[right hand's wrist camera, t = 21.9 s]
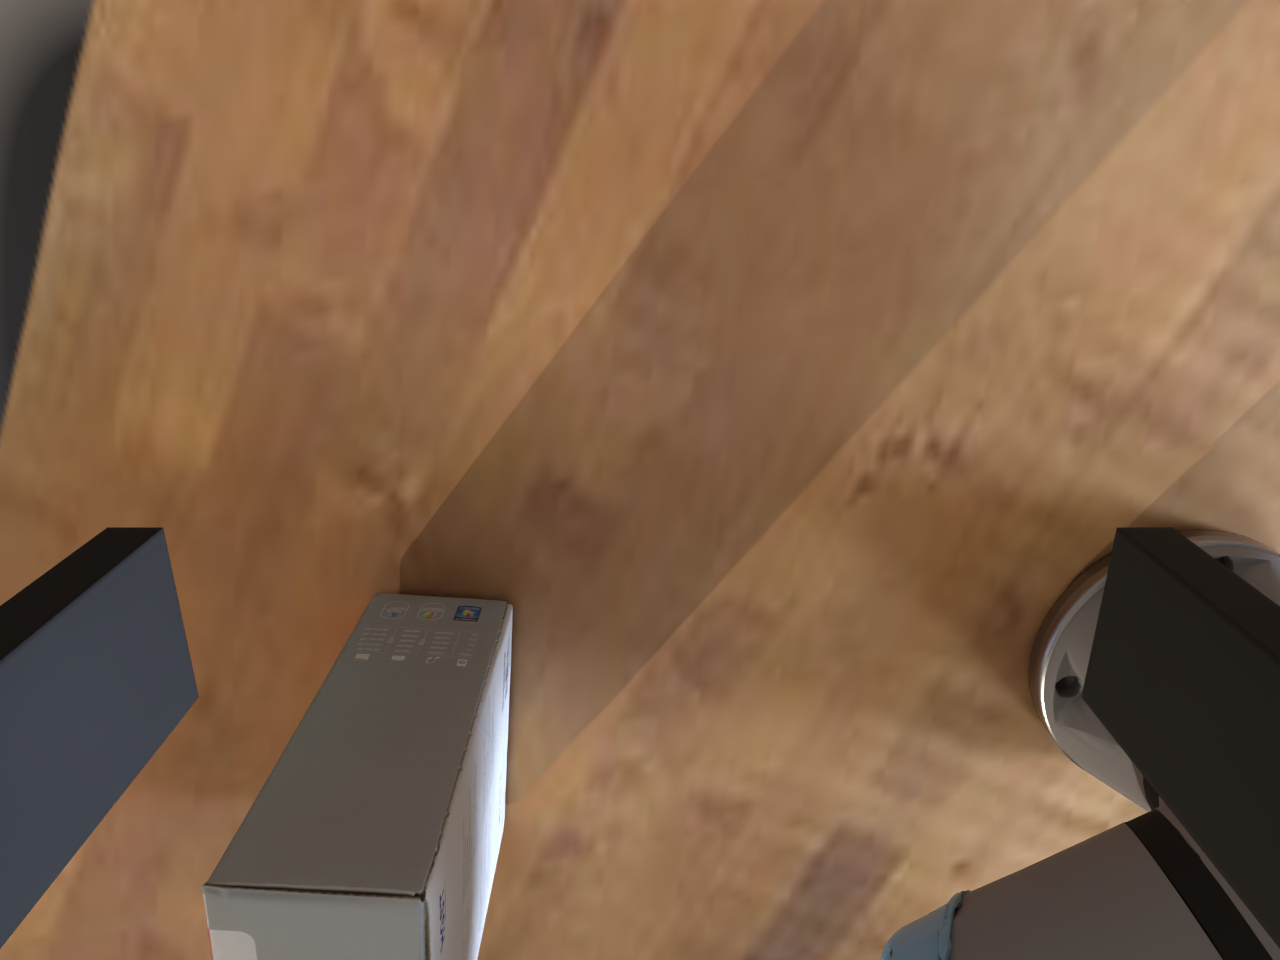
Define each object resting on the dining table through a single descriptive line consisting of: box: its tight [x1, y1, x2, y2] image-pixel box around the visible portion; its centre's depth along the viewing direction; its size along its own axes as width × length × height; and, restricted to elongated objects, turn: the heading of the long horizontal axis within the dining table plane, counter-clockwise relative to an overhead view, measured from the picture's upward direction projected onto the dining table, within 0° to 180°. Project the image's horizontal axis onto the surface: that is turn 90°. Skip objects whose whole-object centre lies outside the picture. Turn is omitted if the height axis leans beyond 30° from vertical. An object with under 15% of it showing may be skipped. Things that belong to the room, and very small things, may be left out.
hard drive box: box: [202, 593, 513, 960], centre depth 41 cm, size 16×8×20 cm, turn 176°
